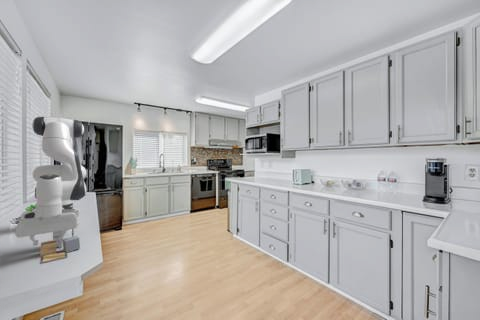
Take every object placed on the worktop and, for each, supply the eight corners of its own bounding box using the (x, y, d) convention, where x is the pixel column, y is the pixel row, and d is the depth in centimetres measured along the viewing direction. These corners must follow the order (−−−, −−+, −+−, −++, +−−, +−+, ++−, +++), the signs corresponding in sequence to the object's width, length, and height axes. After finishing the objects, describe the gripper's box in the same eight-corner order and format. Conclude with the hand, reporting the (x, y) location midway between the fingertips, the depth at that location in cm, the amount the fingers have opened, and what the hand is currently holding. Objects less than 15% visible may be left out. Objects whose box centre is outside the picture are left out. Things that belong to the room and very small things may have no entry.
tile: (41, 257, 89) (41, 255, 89) (66, 251, 95) (66, 250, 95) (39, 264, 83) (39, 263, 83) (67, 258, 88) (67, 256, 88)
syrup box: (62, 248, 99) (62, 217, 99) (52, 247, 100) (52, 216, 100) (73, 243, 104) (74, 214, 104) (64, 242, 105) (64, 213, 106)
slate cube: (63, 250, 96) (62, 239, 96) (76, 246, 100) (76, 235, 100) (66, 252, 93) (65, 241, 93) (80, 248, 97) (79, 237, 97)
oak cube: (41, 253, 93) (41, 242, 93) (56, 250, 96) (56, 239, 96) (40, 257, 89) (40, 245, 89) (56, 253, 92) (56, 242, 93)
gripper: (78, 207, 102) (77, 235, 102) (17, 213, 89) (16, 246, 88) (79, 208, 97) (78, 238, 97) (15, 216, 84) (14, 250, 83)
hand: (48, 242), depth 92 cm, fingers open, 7 cm apart
